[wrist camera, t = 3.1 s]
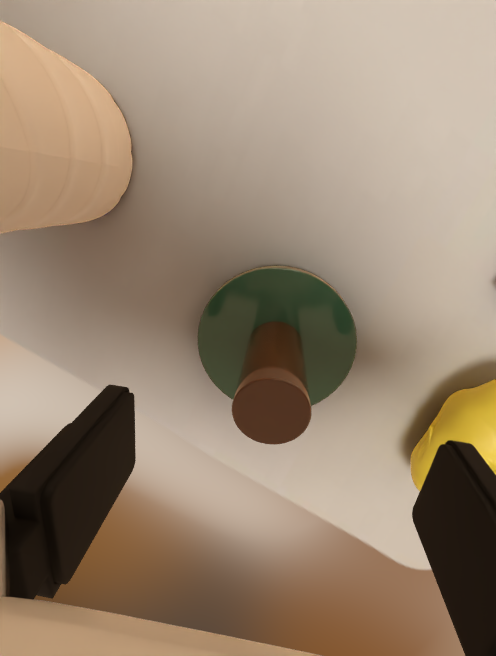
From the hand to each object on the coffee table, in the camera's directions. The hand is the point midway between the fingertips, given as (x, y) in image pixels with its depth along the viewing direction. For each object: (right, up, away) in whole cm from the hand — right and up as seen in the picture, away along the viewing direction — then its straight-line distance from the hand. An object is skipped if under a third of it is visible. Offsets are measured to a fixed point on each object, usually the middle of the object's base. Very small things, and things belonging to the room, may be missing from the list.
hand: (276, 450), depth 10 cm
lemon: (+11, -1, +8) cm, 13 cm away
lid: (+1, +3, +7) cm, 8 cm away
